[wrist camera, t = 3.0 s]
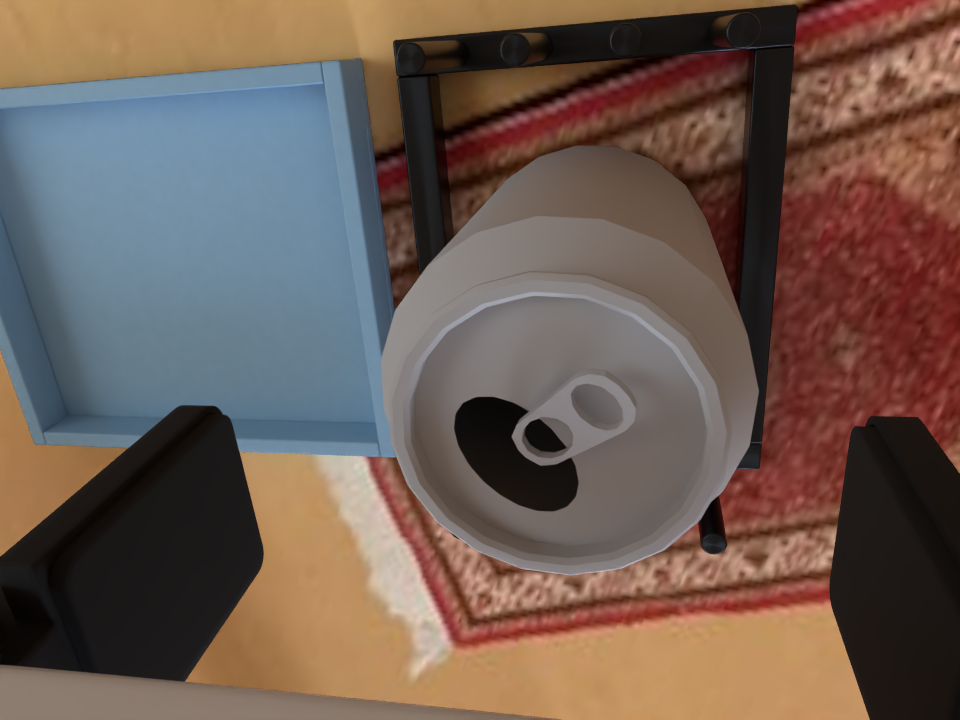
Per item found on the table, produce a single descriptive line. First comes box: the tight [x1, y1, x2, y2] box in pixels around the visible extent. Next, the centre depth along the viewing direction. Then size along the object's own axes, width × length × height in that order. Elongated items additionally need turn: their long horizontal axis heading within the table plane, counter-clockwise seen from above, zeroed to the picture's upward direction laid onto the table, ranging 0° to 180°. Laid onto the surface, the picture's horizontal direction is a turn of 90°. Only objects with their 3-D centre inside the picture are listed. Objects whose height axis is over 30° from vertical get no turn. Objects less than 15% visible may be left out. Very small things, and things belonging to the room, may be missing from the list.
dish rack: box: [393, 4, 798, 554], centre depth 21 cm, size 11×14×6 cm
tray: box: [0, 58, 396, 457], centre depth 26 cm, size 15×13×2 cm
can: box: [381, 145, 759, 575], centre depth 18 cm, size 8×8×12 cm
